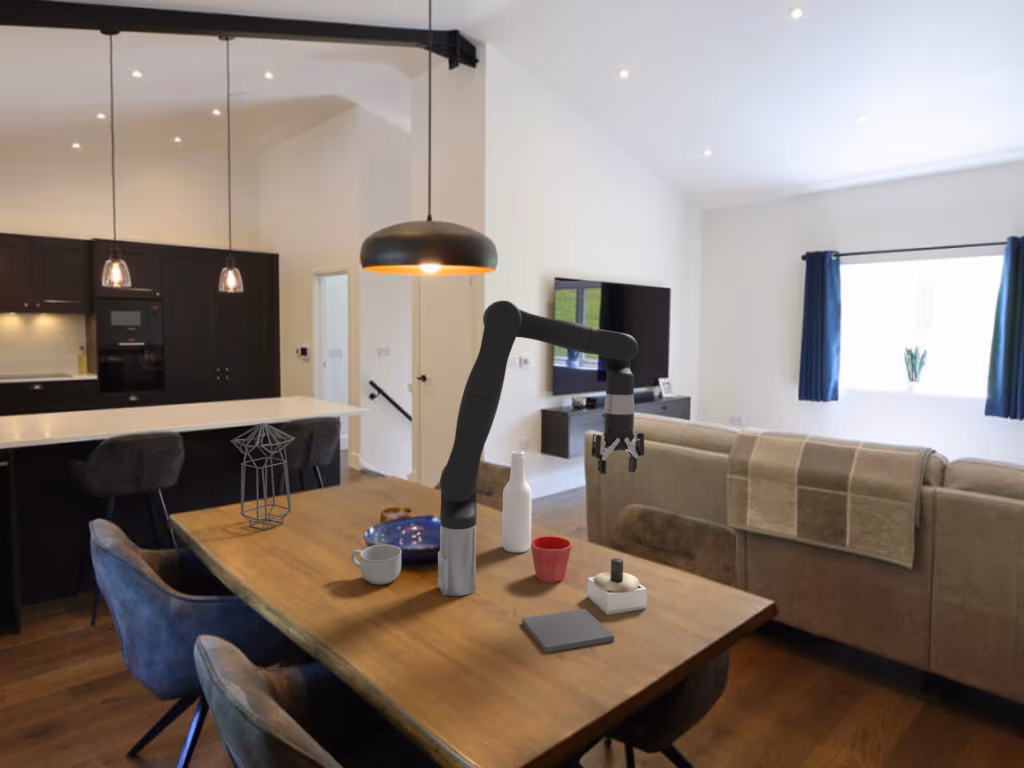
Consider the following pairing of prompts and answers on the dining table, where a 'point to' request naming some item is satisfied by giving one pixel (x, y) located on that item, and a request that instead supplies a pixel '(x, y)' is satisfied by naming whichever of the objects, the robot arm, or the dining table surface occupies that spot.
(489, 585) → the dining table surface
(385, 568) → the teacup
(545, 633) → the mat
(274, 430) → the geometric lantern
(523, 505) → the alcohol
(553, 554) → the flower pot
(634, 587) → the lid
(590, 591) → the dish
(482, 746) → the dining table surface
